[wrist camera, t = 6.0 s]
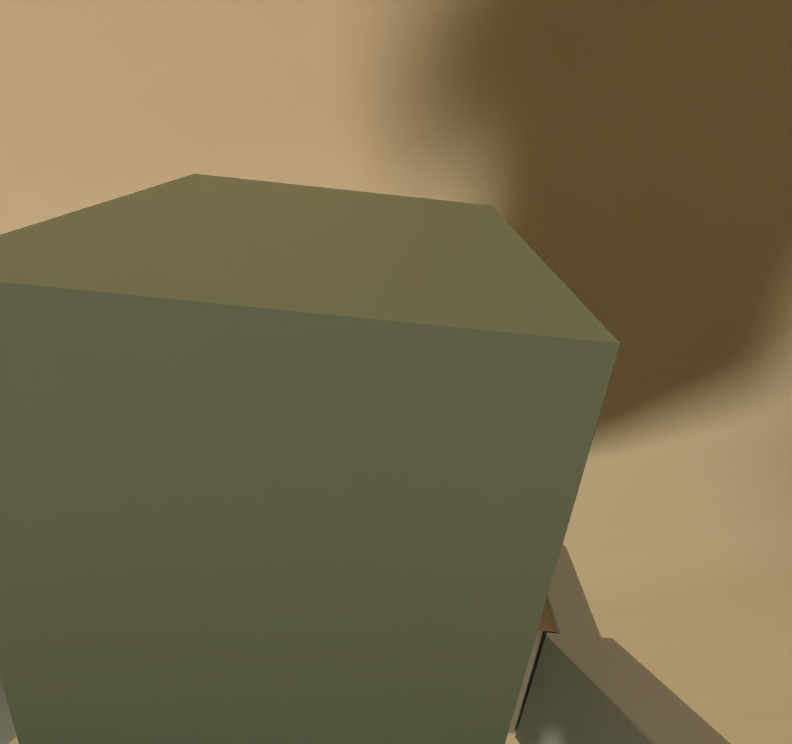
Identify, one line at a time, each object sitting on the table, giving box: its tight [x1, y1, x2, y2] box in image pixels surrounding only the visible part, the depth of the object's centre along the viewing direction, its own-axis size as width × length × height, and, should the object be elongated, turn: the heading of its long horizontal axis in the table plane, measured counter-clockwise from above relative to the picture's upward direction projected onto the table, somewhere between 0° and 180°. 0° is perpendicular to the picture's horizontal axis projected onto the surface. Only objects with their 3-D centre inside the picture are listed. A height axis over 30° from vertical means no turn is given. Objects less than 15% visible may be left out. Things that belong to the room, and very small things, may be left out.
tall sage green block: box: [0, 174, 620, 744], centre depth 7 cm, size 10×4×5 cm, turn 174°
